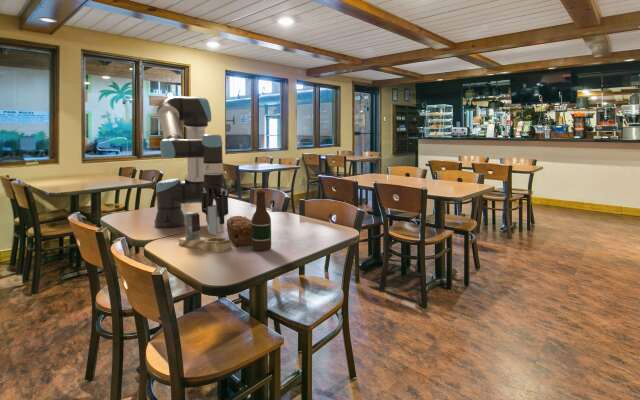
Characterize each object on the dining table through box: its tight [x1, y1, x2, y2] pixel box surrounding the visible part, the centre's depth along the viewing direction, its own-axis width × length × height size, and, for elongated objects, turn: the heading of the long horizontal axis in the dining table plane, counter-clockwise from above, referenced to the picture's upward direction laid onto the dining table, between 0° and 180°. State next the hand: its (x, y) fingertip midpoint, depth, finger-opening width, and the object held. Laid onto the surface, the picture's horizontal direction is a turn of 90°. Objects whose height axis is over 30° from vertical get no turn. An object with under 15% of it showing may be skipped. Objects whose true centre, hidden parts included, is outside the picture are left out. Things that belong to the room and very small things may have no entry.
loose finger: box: [207, 204, 224, 235], centre depth 162 cm, size 5×4×11 cm
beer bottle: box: [251, 190, 272, 253], centre depth 161 cm, size 8×8×24 cm
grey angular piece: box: [178, 211, 232, 253], centre depth 166 cm, size 23×7×14 cm, turn 60°
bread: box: [226, 215, 252, 247], centre depth 176 cm, size 19×11×10 cm, turn 22°
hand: (215, 230), depth 163 cm, fingers closed on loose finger, 5 cm apart
